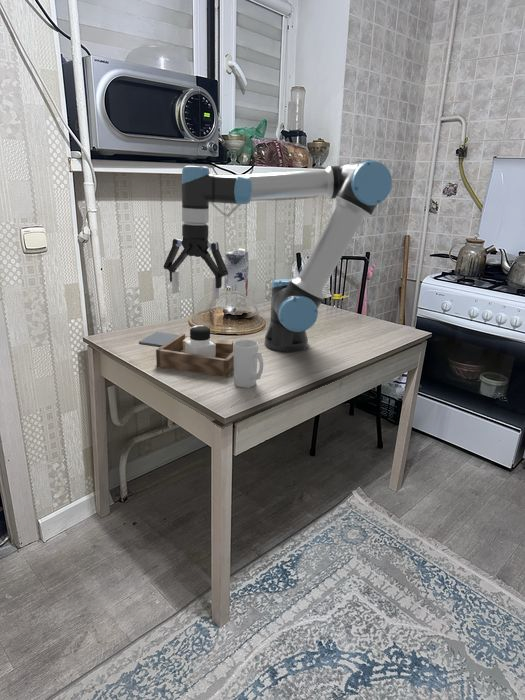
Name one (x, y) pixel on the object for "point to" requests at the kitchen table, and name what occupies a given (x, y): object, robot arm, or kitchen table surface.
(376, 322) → the kitchen table surface
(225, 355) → the offcut lower
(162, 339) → the mat
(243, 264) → the juice carton
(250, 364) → the mug
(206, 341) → the medicine bottle
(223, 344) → the offcut upper
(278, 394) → the kitchen table surface
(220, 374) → the tray
